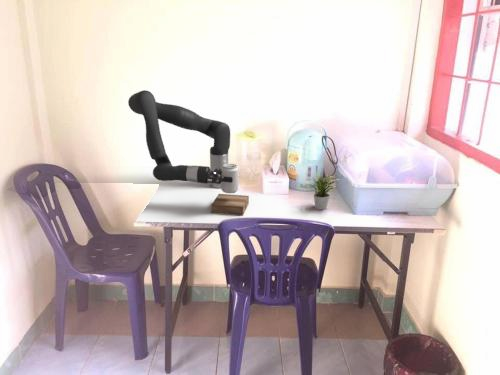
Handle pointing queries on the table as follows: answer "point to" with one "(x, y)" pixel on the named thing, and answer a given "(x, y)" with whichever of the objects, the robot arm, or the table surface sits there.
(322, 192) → the house plant
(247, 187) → the table surface
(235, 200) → the plinth
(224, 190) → the can
